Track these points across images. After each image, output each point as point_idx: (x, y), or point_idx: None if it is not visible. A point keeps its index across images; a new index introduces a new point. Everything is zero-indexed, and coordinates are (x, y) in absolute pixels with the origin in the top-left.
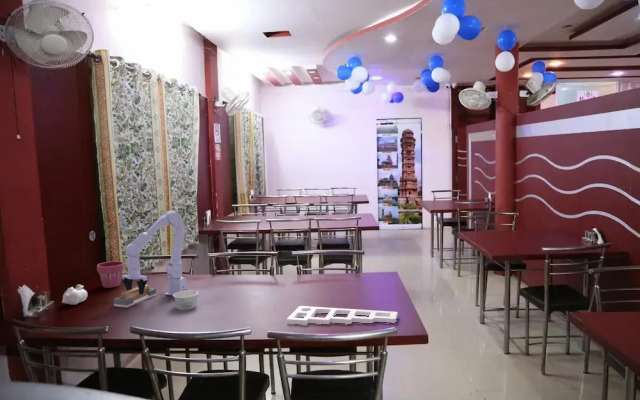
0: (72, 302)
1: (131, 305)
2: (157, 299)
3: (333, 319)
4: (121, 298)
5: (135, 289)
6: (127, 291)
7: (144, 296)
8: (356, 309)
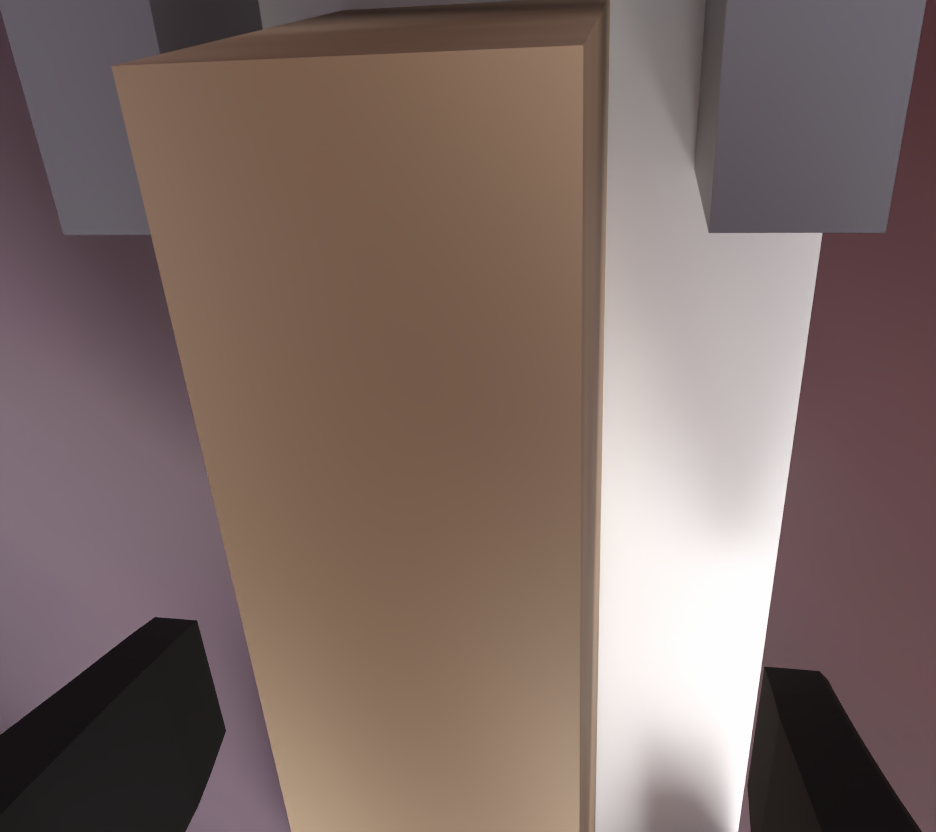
0: None
1: None
2: (53, 682)
3: None
4: (713, 107)
5: (346, 813)
6: (447, 481)
7: None
8: None
